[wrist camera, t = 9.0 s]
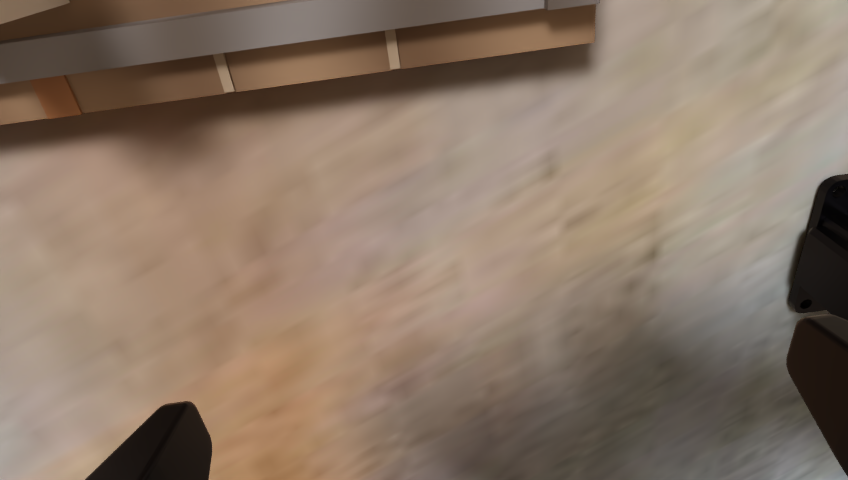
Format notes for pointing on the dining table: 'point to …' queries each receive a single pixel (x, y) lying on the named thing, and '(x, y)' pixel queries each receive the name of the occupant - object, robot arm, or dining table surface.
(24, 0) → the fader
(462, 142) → the dining table surface
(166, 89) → the brown wooden tray
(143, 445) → the robot arm
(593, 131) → the dining table surface
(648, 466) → the dining table surface
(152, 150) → the dining table surface
